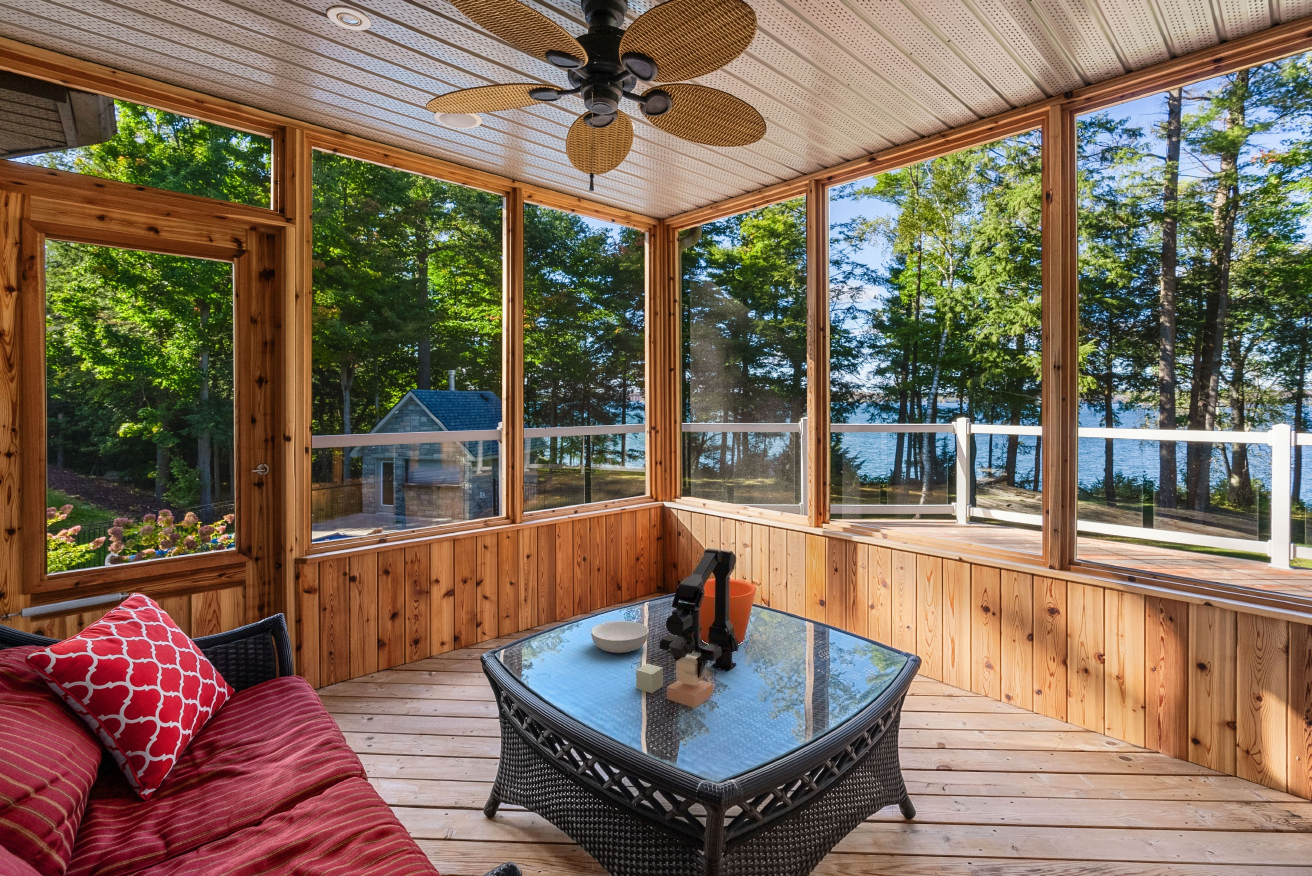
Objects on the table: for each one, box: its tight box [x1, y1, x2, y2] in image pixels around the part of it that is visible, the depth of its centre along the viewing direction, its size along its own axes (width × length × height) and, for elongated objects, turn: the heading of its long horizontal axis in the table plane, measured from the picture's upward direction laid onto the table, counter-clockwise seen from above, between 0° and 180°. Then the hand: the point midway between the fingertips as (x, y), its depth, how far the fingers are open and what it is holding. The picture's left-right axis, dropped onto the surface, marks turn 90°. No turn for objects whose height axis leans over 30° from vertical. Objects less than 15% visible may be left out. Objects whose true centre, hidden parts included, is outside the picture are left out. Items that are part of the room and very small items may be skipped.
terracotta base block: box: [666, 679, 714, 709], centre depth 196 cm, size 10×10×4 cm
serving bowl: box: [590, 620, 650, 654], centre depth 235 cm, size 21×21×7 cm
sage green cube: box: [635, 663, 664, 694], centre depth 202 cm, size 6×6×6 cm
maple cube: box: [675, 654, 705, 685], centre depth 195 cm, size 6×6×6 cm
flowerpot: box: [700, 578, 757, 645], centre depth 243 cm, size 25×25×20 cm
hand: (690, 675), depth 195 cm, fingers closed on maple cube, 6 cm apart
